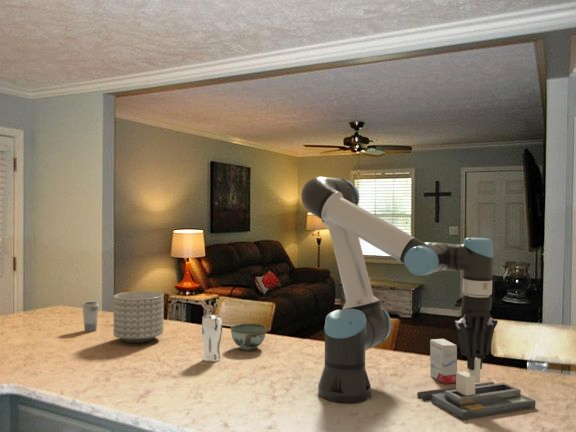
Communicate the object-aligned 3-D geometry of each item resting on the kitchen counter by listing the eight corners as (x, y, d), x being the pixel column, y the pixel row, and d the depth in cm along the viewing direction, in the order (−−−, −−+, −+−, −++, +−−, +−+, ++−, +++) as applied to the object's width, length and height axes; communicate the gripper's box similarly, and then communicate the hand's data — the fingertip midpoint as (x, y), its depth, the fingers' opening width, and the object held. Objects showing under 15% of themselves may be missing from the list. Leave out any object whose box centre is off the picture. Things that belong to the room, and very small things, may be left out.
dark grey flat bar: (423, 400, 143) (423, 395, 143) (415, 396, 147) (415, 391, 147) (501, 389, 153) (501, 384, 153) (492, 385, 156) (492, 380, 156)
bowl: (273, 347, 196) (273, 326, 196) (252, 355, 185) (252, 333, 185) (244, 342, 204) (245, 321, 203) (223, 349, 192) (223, 328, 192)
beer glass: (197, 360, 178) (198, 317, 178) (208, 355, 185) (208, 313, 184) (215, 363, 176) (215, 319, 175) (225, 357, 182) (225, 315, 182)
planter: (156, 347, 195) (156, 299, 194) (106, 346, 195) (106, 299, 195) (168, 334, 214) (168, 291, 213) (122, 334, 214) (123, 290, 214)
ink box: (458, 383, 158) (458, 345, 158) (443, 384, 157) (443, 346, 156) (443, 374, 166) (443, 338, 166) (429, 375, 165) (429, 338, 165)
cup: (78, 332, 217) (78, 303, 217) (87, 328, 223) (87, 300, 223) (94, 332, 216) (94, 304, 215) (102, 329, 222) (102, 301, 222)
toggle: (464, 402, 136) (465, 377, 136) (455, 397, 140) (455, 372, 140) (475, 400, 137) (476, 375, 137) (465, 395, 141) (466, 371, 141)
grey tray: (462, 420, 131) (463, 404, 130) (431, 401, 143) (431, 387, 143) (535, 407, 139) (535, 393, 139) (499, 391, 151) (500, 378, 151)
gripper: (466, 298, 134) (463, 388, 134) (506, 296, 138) (503, 383, 139) (448, 293, 141) (445, 379, 141) (486, 291, 145) (483, 374, 146)
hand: (474, 381), depth 140 cm, fingers closed
